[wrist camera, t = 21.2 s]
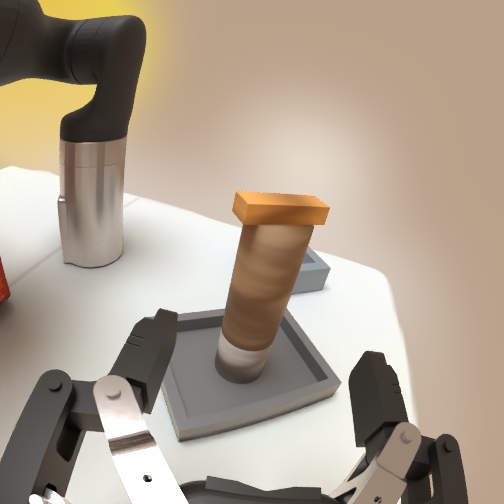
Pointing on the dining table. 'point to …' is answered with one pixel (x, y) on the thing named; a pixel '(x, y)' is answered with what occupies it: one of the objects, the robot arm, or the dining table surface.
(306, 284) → the tool holder
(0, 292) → the cereal box
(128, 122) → the robot arm
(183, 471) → the dining table surface
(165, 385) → the tool tray
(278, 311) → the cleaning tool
